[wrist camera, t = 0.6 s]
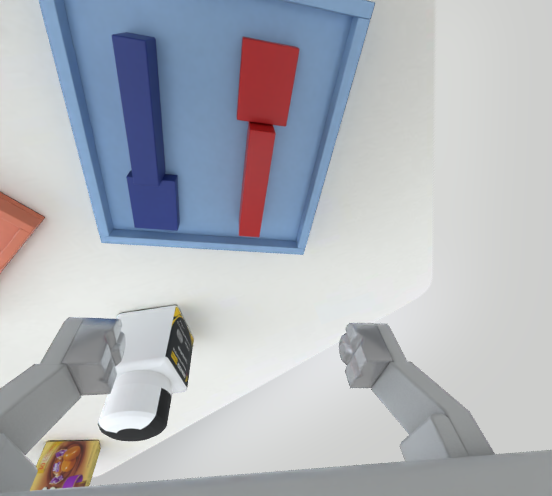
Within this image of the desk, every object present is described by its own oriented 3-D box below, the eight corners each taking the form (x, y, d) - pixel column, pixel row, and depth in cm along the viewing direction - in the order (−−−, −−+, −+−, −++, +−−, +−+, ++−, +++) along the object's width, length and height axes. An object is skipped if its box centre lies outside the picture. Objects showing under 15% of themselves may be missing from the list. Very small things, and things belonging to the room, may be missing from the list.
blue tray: (35, -74, 15) (17, -82, 14) (365, 3, 19) (375, 2, 17) (107, 232, 27) (101, 243, 26) (300, 244, 30) (303, 255, 29)
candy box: (50, 448, 56) (-1, 566, 44) (46, 440, 53) (-9, 562, 41) (101, 448, 58) (67, 559, 46) (100, 439, 55) (63, 555, 44)
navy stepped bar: (180, 223, 27) (175, 240, 25) (138, 220, 26) (129, 237, 24) (171, 40, 18) (162, 43, 16) (108, 28, 18) (92, 30, 16)
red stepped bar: (242, 36, 19) (243, 38, 17) (297, 46, 19) (304, 50, 17) (228, 219, 27) (228, 235, 25) (267, 222, 28) (269, 238, 26)
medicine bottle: (194, 338, 39) (181, 441, 29) (140, 346, 38) (110, 452, 29) (177, 303, 34) (155, 412, 25) (116, 312, 34) (71, 425, 25)
